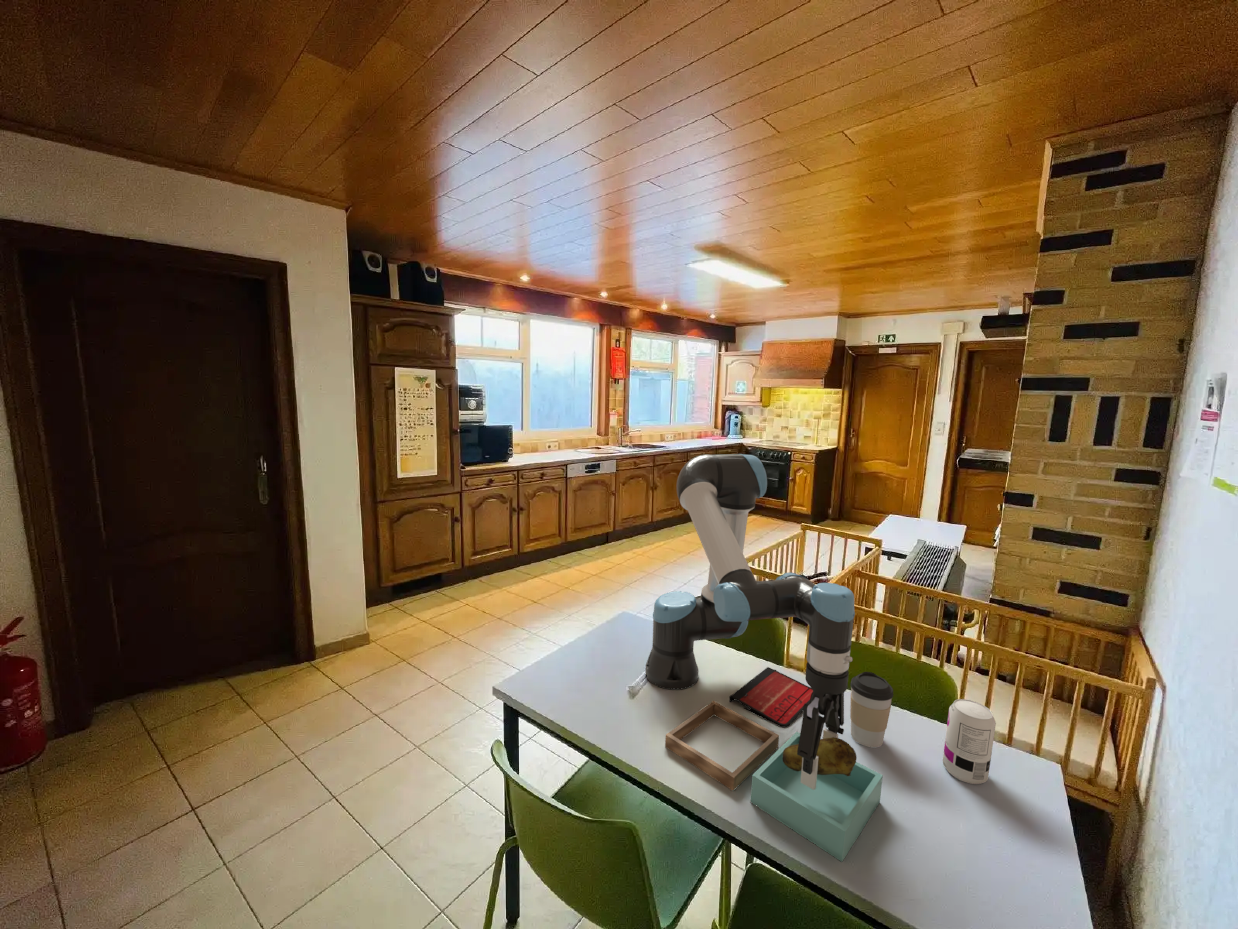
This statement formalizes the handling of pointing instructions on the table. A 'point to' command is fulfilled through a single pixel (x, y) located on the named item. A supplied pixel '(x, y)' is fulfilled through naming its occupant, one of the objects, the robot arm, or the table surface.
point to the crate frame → (711, 766)
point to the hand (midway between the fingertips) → (818, 773)
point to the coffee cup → (869, 708)
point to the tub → (818, 801)
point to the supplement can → (969, 741)
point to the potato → (825, 757)
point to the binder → (774, 697)
